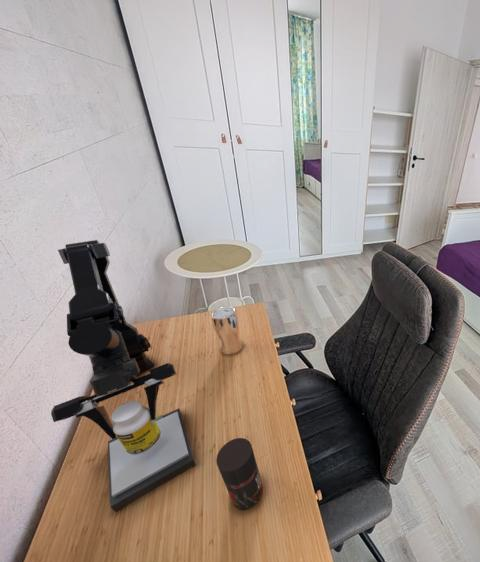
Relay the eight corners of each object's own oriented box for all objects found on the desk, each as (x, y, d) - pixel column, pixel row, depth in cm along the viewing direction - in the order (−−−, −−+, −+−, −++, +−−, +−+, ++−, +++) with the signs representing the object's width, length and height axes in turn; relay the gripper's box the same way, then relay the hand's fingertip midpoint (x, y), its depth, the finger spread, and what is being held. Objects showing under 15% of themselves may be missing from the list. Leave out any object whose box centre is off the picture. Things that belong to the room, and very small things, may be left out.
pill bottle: (126, 462, 58) (103, 431, 52) (127, 437, 62) (107, 406, 57) (162, 446, 61) (145, 415, 56) (161, 423, 65) (145, 392, 60)
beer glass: (235, 338, 98) (227, 303, 91) (247, 347, 95) (239, 311, 88) (216, 349, 93) (205, 312, 86) (228, 359, 90) (217, 322, 83)
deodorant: (264, 502, 58) (252, 463, 50) (232, 515, 56) (215, 476, 48) (262, 473, 62) (251, 433, 55) (232, 484, 60) (217, 444, 53)
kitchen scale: (111, 446, 65) (106, 439, 64) (181, 413, 73) (178, 406, 72) (114, 512, 55) (108, 505, 53) (195, 464, 63) (192, 457, 62)
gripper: (24, 378, 47) (53, 469, 46) (159, 334, 58) (185, 406, 56) (52, 379, 56) (77, 455, 55) (164, 341, 67) (187, 403, 65)
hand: (134, 428), depth 58 cm, fingers closed on pill bottle, 6 cm apart
